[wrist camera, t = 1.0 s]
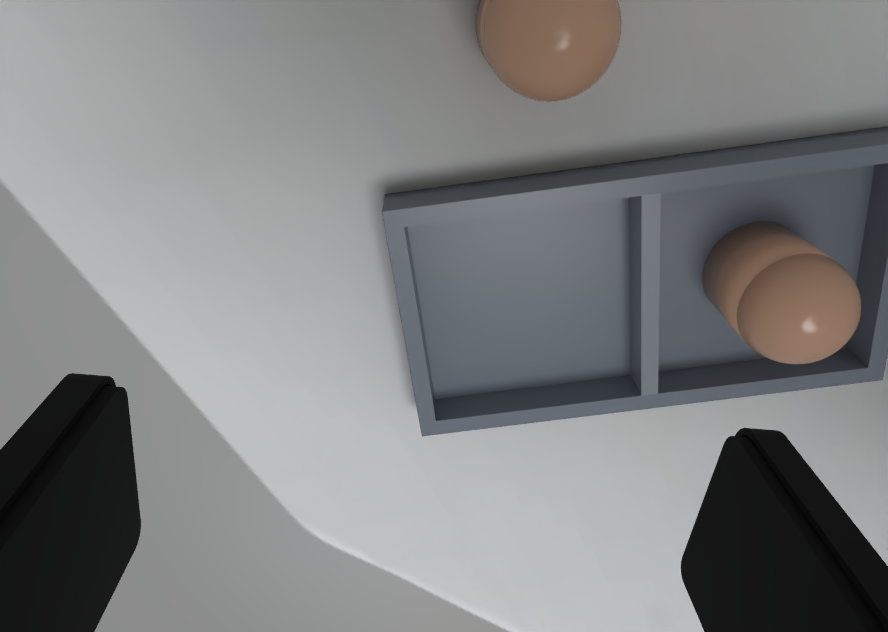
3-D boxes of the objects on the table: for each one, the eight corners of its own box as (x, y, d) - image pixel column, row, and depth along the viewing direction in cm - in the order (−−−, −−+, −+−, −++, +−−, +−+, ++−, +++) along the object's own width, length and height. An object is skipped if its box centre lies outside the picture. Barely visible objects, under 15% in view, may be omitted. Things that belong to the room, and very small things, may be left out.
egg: (592, -52, 27) (638, -59, 21) (595, 76, 29) (638, 102, 23) (469, -35, 27) (481, -36, 21) (482, 92, 29) (497, 121, 23)
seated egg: (810, 214, 31) (897, 269, 25) (799, 308, 33) (877, 378, 28) (704, 228, 31) (767, 285, 26) (700, 321, 33) (757, 393, 28)
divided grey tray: (890, 126, 30) (927, 138, 28) (853, 354, 35) (882, 379, 33) (385, 194, 31) (382, 211, 29) (422, 407, 36) (421, 436, 34)
